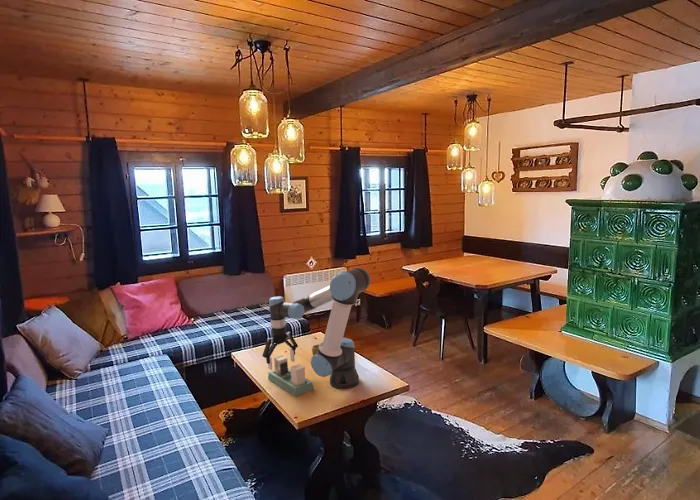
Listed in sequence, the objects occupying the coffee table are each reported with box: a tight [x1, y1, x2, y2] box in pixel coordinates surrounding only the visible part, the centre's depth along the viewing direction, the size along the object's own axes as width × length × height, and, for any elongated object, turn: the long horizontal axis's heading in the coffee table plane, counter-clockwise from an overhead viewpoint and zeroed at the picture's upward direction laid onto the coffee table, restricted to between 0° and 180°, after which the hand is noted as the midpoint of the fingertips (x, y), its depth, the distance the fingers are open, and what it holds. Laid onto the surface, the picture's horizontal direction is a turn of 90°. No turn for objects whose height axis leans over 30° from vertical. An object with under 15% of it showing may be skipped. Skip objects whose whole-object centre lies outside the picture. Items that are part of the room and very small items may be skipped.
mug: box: [311, 343, 321, 357], centre depth 256 cm, size 12×10×10 cm
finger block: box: [273, 355, 289, 377], centre depth 230 cm, size 6×5×10 cm
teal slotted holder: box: [267, 363, 315, 398], centre depth 224 cm, size 26×11×12 cm, turn 40°
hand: (281, 365), depth 230 cm, fingers open, 13 cm apart
